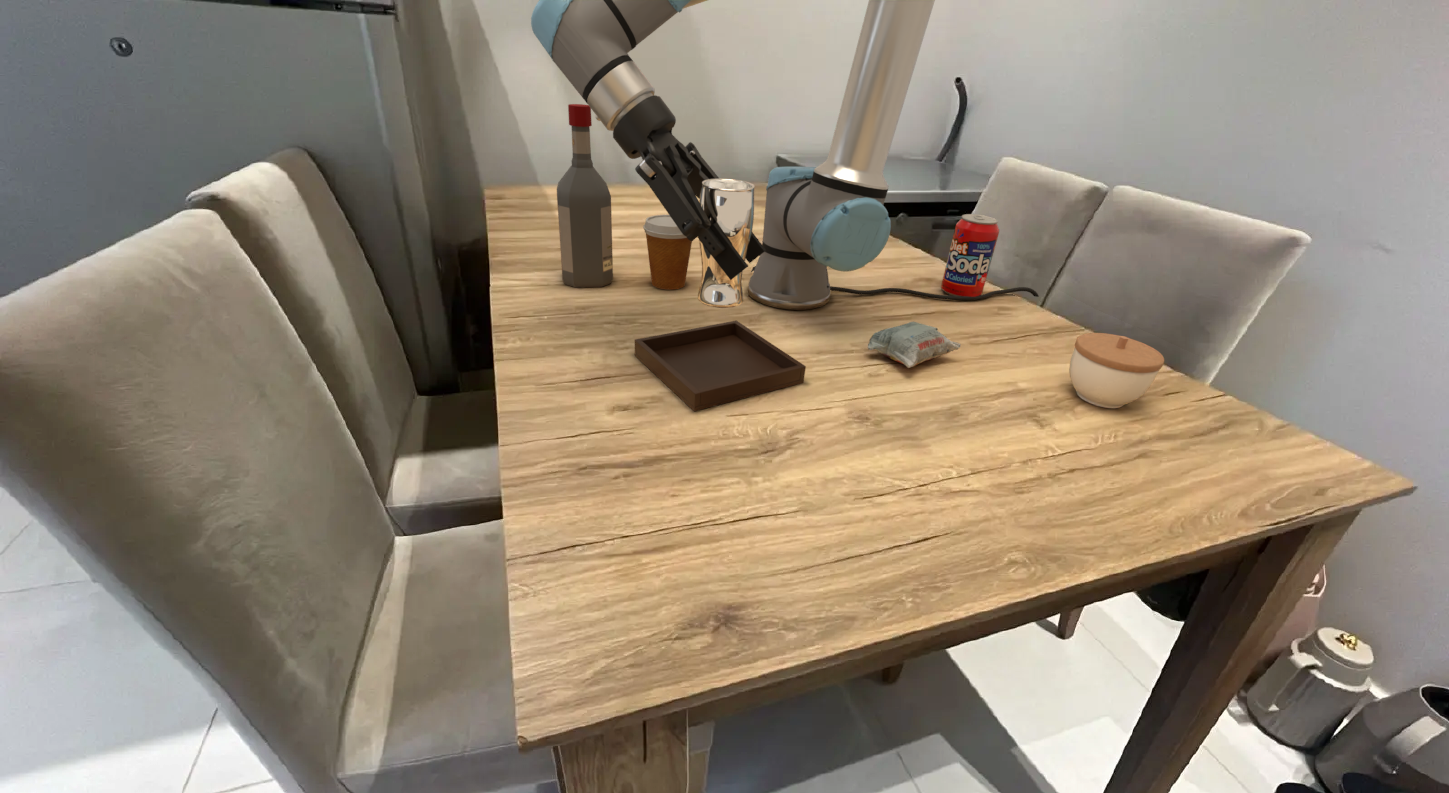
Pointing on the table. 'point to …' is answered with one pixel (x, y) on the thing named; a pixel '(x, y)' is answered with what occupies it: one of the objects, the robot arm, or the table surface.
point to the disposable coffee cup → (666, 252)
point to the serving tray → (718, 364)
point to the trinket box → (1112, 369)
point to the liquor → (584, 212)
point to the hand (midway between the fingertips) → (748, 264)
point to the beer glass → (734, 217)
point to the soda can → (970, 255)
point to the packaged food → (911, 343)
